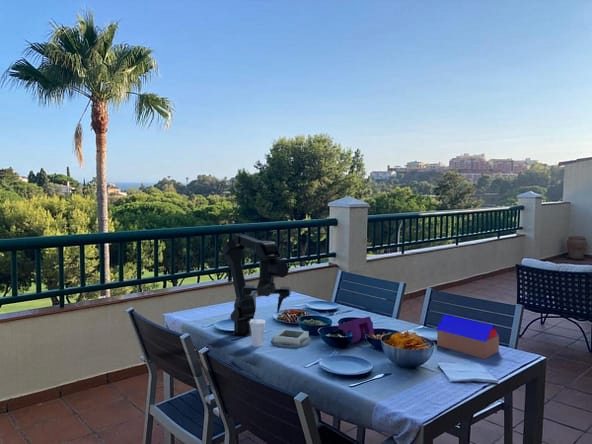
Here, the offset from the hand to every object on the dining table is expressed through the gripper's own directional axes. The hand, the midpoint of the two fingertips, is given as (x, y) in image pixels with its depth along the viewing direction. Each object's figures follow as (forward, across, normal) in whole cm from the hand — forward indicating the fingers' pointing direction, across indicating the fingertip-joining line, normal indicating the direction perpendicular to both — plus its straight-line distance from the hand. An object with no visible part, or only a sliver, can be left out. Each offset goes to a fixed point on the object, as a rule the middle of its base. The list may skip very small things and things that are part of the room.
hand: (266, 312), depth 182 cm
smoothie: (+13, -3, -2) cm, 14 cm away
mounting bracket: (+13, +33, +14) cm, 38 cm away
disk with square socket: (+13, +10, +5) cm, 17 cm away
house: (+13, +78, +5) cm, 80 cm away
